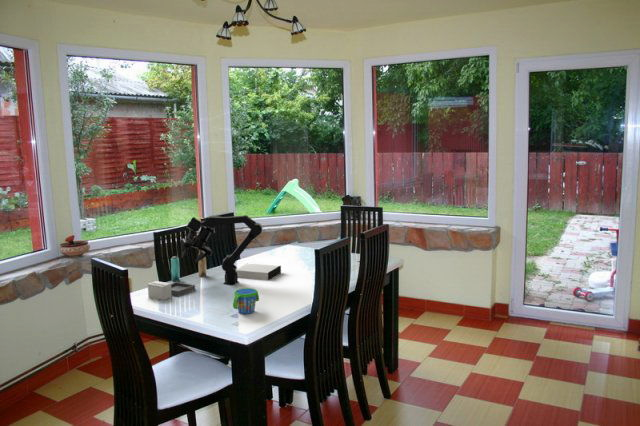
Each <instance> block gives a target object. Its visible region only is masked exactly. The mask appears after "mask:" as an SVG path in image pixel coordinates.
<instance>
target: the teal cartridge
mask: <svg viewBox="0 0 640 426" xmlns="http://www.w3.org/2000/svg"><path fill="white" fill-rule="evenodd" d="M170 268H171V269H170V270H171V272H170V273H171V281H172V282H173V283H175V282H179V281H180V280H181V279H180V277H181V276H180V275H181V274H180V258H179V257H178V255H175V256H172V257H171V258H170Z"/></svg>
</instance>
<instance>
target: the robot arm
mask: <svg viewBox="0 0 640 426" xmlns="http://www.w3.org/2000/svg"><path fill="white" fill-rule="evenodd" d="M231 224H245V225H246V226H247V228H249V232H248V233H247V235H246V236H245V238H244V239H243V240H242V241H241V242H240V244H239V245H238V246H237V248H236V249H235V250H234V251H233V252H232V253H231V254H230V255H229V254H227V255H226V256H225V258H223V260H222V264H221V269H222V270H223V271H224V282H223V284H224V285H229V286H234V285H237V284H239V283H240V281H238V277H237V272H236V269H237V268H238V267H237V266H236V265H235V264H236V262H237V260H238V258H240V256H241V254H242V253H243V252H244V251H245V249H247V247H249V245H250V244H251V242H252V241H254V239H256V238H257V237H258V236H259V235H260V234H262V232H263V226H262V224H261V223H259V222H256V221H255V220H254V219H252V217H249V215H248V214H244V215H235V216H219V215H210V216H208V217H207V218H206V219H204V220H199V219H197V218H196V217H194V216H193V217H192V218H191V219H190V221H188V223H187V225H186V228H187V229H189V230H191V231H192V232H194V233H196V234H195V235H194V234H193V233H190V232H188V234H187V235H186V238H181V240H180V241H179V243H180V244H181V246H182V251H181V259H184V258H185V256H186V255H187V254H188V252H189V251H190V248H193V249H196V250H199V253H200V254H199V253H198V254H199V255H197V257H196V258H195V260H194V263H195V264H196V263H198V261H200V260H201V259H203V258H205V257H206V258H207V257H209V256H210V257H211V256H212V254H213V251H212V249H211V248H210V247H209V246H207V245H205V244H207V243H208V239H209V237H210V236H211V234H214V235H215V233H216V230H215V228H216V227H219V226H223V225H231ZM197 232H198V234H197Z"/></svg>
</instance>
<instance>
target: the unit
mask: <svg viewBox="0 0 640 426" xmlns="http://www.w3.org/2000/svg"><path fill="white" fill-rule="evenodd" d="M171 284H172V283H170V282H165V281H164V282H163V281H158V280H155V281H152V282H150V283H147V291H148V292H147V294H148V298H151V299H156V300H157V299H158V300H162V301H164V300H166V299H169V298H171V297H172V296H173V295H171Z"/></svg>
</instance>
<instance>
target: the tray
mask: <svg viewBox="0 0 640 426" xmlns="http://www.w3.org/2000/svg"><path fill="white" fill-rule="evenodd" d="M193 291H196V285H195V284H191V283H184V282H179V281H175V282H173V283H171V295H172V296H174V297H180V296H184V295H185V294H188V293H191V292H193Z"/></svg>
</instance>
